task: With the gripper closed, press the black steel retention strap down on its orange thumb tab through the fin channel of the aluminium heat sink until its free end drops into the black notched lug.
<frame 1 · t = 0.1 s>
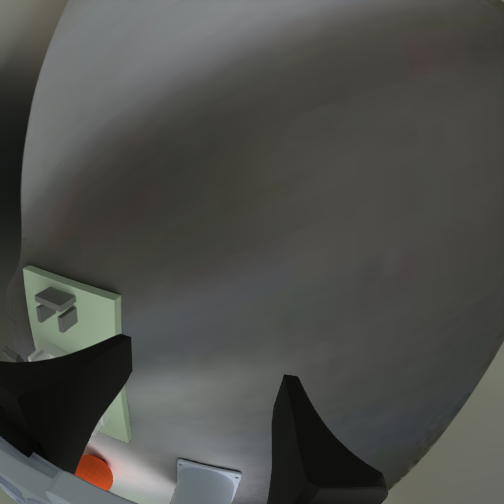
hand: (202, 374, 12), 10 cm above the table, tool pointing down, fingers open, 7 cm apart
heatsink board: (78, 363, 26), on the table
clementine: (101, 461, 32), on the table
retention strap: (49, 400, 20), point 6 cm above the table, hinge at 22.0°
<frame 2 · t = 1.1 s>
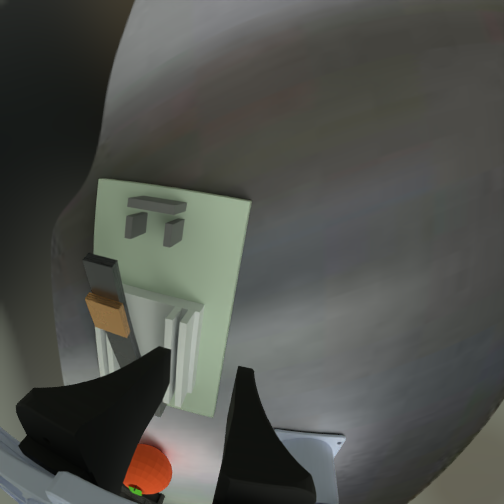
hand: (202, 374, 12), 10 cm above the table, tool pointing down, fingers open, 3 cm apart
heatsink board: (159, 308, 23), on the table
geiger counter: (140, 484, 32), on the table
clementine: (153, 451, 29), on the table
retention strap: (126, 356, 17), point 6 cm above the table, hinge at 22.0°
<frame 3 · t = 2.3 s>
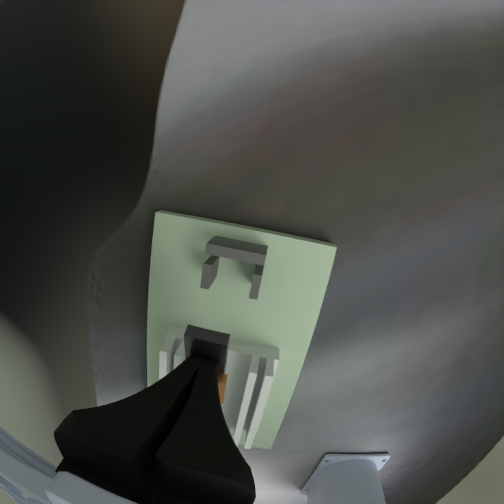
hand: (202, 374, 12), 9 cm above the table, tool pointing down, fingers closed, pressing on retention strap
heatsink board: (223, 351, 22), on the table
retention strap: (205, 412, 16), point 6 cm above the table, hinge at 21.6°, touching gripper
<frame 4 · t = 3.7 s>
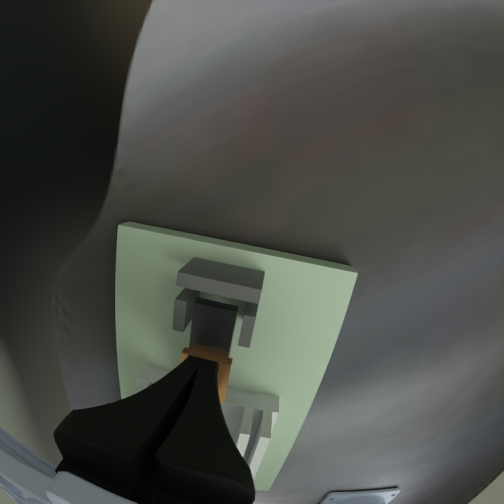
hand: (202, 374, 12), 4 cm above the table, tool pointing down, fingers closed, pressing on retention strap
heatsink board: (211, 393, 17), on the table
retention strap: (198, 432, 14), point 3 cm above the table, hinge at 0.0°, touching gripper
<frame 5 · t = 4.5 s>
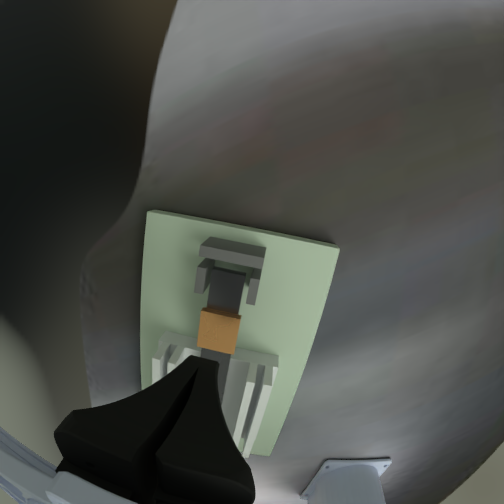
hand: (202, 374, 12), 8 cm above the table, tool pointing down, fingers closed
heatsink board: (220, 357, 21), on the table
retention strap: (210, 387, 18), point 3 cm above the table, hinge at -0.1°
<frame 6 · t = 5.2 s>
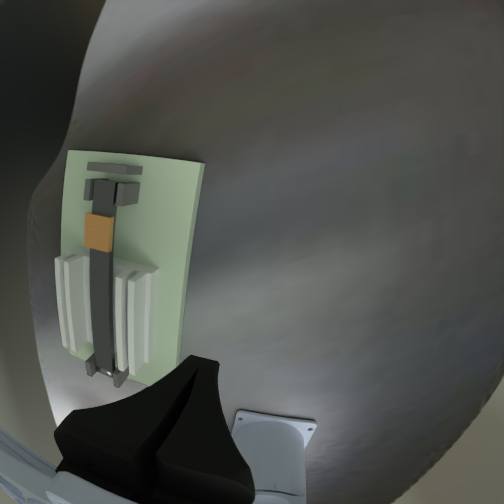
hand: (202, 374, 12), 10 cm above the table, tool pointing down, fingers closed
heatsink board: (120, 275, 23), on the table
retention strap: (99, 292, 20), point 3 cm above the table, hinge at -0.1°
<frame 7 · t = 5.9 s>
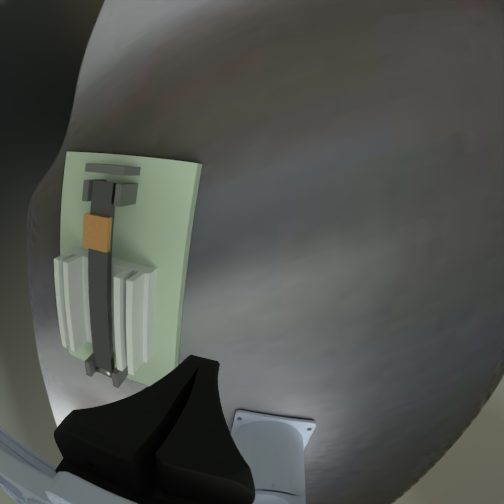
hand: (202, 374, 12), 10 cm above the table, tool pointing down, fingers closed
heatsink board: (119, 276, 23), on the table
retention strap: (98, 292, 20), point 3 cm above the table, hinge at -0.1°
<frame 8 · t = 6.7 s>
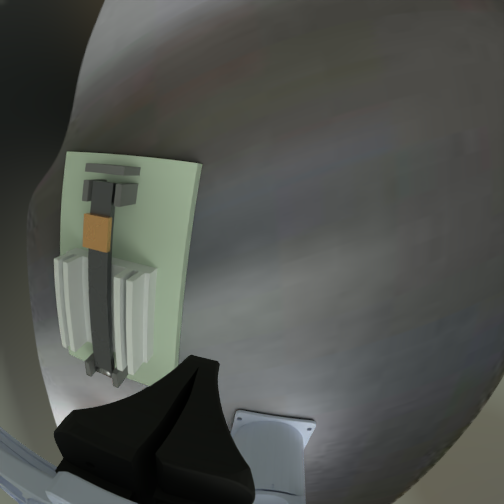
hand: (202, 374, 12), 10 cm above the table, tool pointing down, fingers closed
heatsink board: (119, 276, 23), on the table
retention strap: (98, 292, 20), point 3 cm above the table, hinge at -0.1°
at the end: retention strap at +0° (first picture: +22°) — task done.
